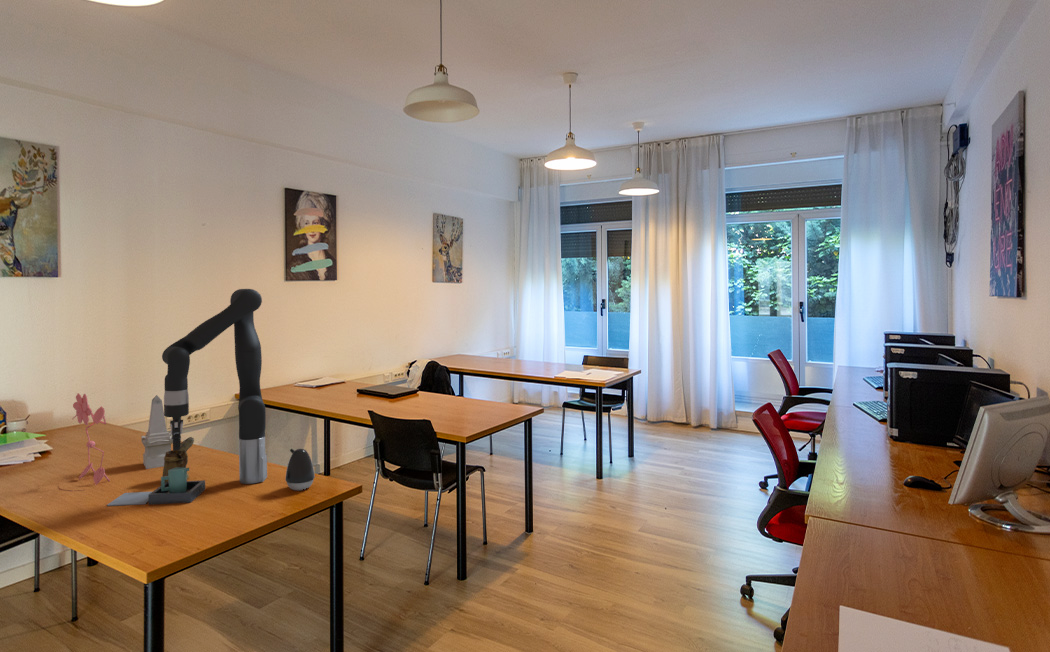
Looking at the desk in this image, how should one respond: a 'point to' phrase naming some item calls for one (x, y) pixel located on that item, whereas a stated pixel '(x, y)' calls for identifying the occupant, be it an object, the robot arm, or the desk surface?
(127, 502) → the slate grey mat
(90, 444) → the figurine
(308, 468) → the grey egg-shaped device
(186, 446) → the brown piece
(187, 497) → the dark grey rectangular frame
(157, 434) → the miniature monument
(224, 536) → the desk surface
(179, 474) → the glazed jug
